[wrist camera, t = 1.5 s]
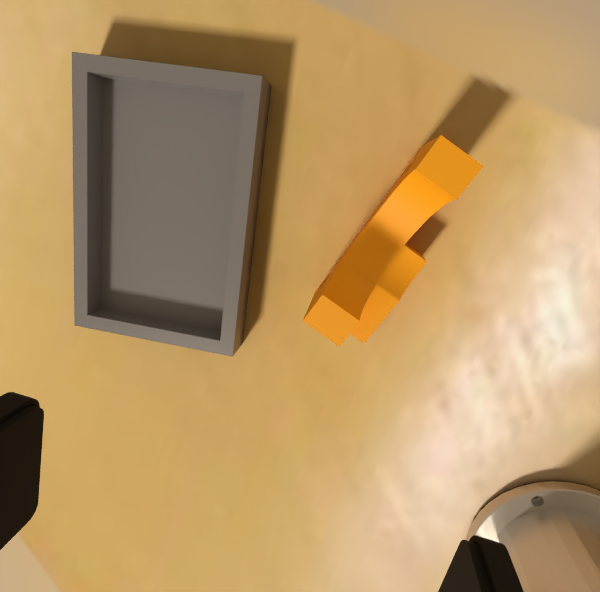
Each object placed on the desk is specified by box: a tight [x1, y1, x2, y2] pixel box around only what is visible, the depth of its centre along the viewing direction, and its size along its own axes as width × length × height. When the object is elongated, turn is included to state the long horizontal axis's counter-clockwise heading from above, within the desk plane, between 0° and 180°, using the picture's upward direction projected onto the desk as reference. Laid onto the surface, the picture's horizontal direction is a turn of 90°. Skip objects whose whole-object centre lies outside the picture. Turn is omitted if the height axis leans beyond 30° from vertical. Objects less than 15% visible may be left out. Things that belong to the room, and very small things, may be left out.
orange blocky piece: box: [303, 135, 483, 347], centre depth 25 cm, size 12×4×6 cm, turn 146°
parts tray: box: [72, 52, 271, 357], centre depth 29 cm, size 12×18×2 cm, turn 172°
